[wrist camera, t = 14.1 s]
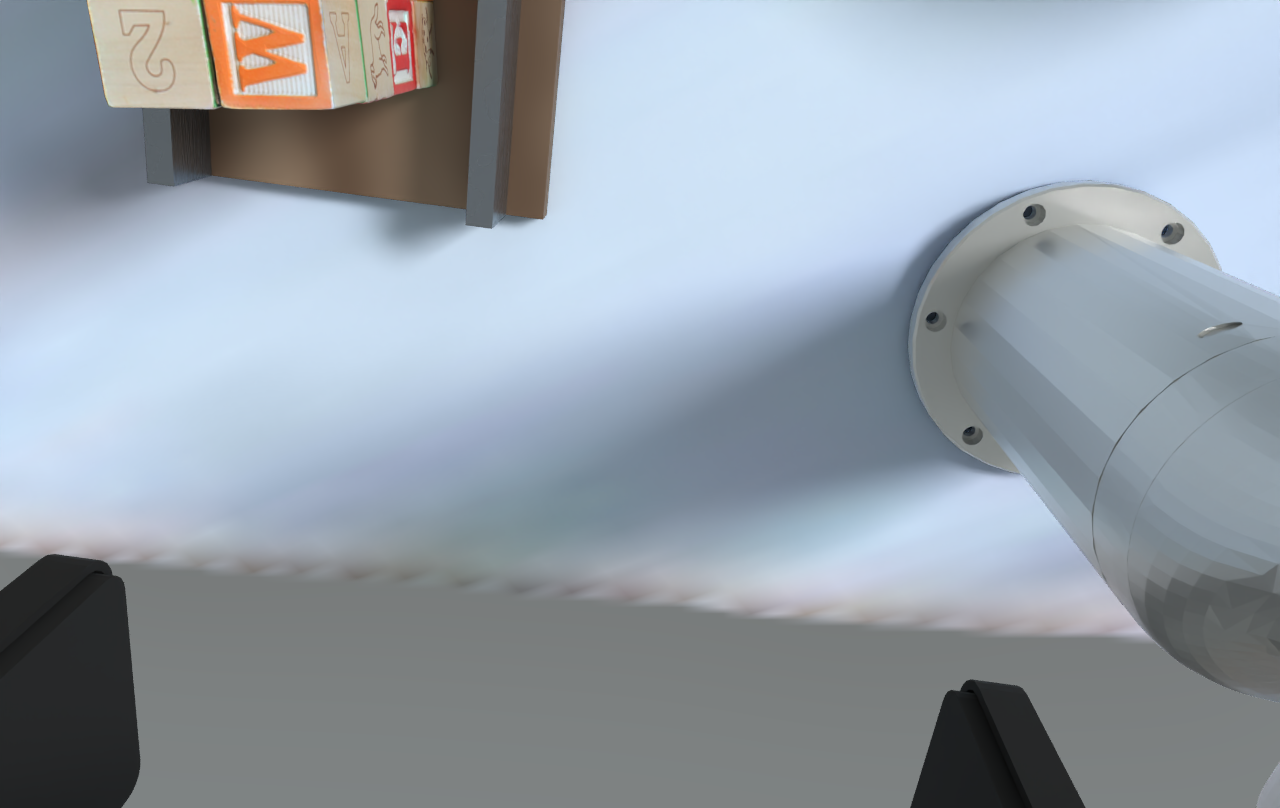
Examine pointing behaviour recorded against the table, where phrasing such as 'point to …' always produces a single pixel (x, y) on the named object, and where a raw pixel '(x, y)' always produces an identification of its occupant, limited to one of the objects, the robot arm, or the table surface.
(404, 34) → the stack of blocks
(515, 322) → the table surface
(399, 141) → the track
